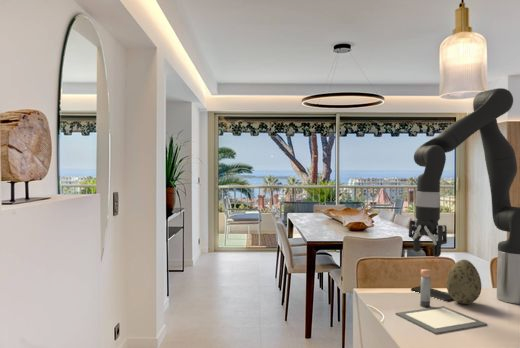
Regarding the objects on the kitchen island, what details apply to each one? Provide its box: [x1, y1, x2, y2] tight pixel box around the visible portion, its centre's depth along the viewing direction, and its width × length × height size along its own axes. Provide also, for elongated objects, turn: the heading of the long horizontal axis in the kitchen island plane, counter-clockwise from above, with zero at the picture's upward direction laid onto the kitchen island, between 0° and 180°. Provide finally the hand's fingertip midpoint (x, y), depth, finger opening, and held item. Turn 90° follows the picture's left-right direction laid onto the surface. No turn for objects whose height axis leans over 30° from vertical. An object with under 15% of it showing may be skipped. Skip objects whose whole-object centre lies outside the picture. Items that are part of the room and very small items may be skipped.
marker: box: [419, 268, 432, 309], centre depth 132 cm, size 3×3×12 cm
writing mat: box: [395, 305, 488, 335], centre depth 120 cm, size 20×16×1 cm
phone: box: [410, 285, 455, 302], centre depth 145 cm, size 8×1×15 cm
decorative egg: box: [445, 259, 482, 305], centre depth 136 cm, size 11×11×15 cm
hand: (426, 253), depth 132 cm, fingers open, 8 cm apart
